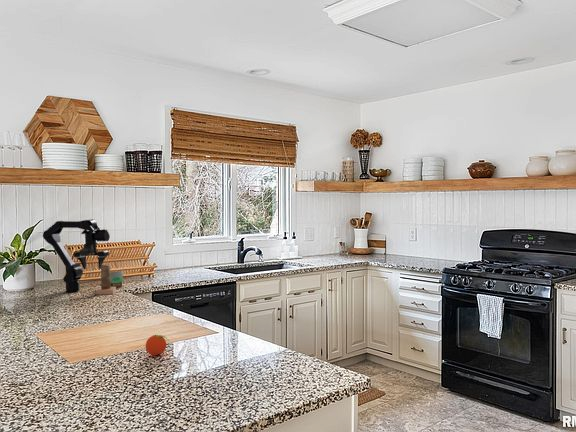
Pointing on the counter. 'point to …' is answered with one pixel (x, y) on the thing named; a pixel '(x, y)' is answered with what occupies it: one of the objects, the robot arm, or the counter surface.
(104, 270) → the walnut cylinder
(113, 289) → the terracotta base
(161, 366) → the counter surface
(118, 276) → the food container
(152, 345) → the tomato
